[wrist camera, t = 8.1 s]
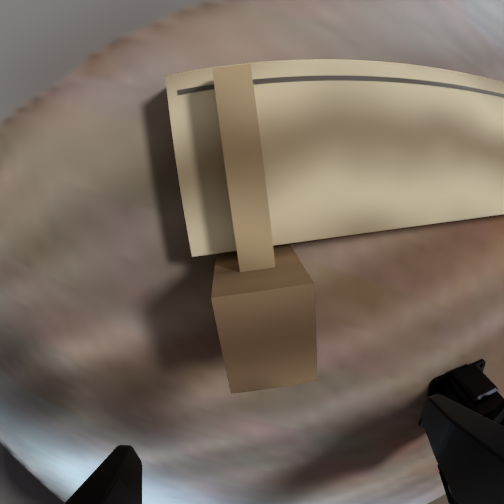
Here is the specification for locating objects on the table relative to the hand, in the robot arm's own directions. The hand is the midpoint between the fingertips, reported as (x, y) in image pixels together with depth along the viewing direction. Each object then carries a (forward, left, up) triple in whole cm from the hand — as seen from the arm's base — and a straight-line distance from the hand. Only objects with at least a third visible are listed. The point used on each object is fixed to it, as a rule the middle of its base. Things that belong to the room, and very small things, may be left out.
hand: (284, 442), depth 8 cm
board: (+7, -9, -11) cm, 16 cm away
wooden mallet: (0, 0, -11) cm, 11 cm away
